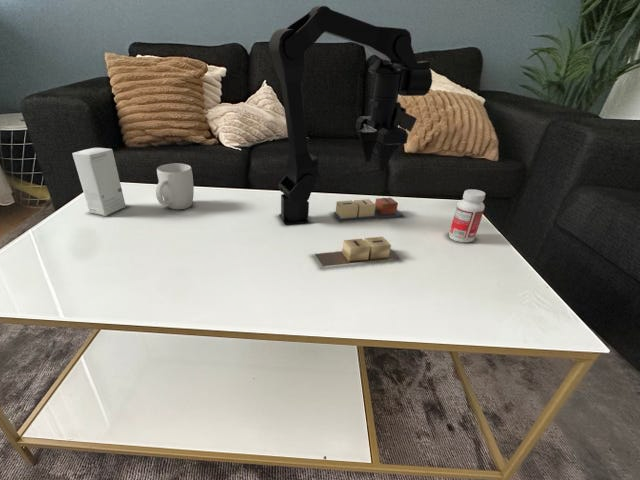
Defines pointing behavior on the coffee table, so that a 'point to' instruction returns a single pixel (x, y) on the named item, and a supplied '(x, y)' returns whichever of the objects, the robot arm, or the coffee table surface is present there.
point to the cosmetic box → (99, 180)
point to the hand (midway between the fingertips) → (374, 166)
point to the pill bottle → (467, 216)
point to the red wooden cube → (386, 206)
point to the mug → (175, 185)
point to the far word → (359, 210)
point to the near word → (359, 252)
